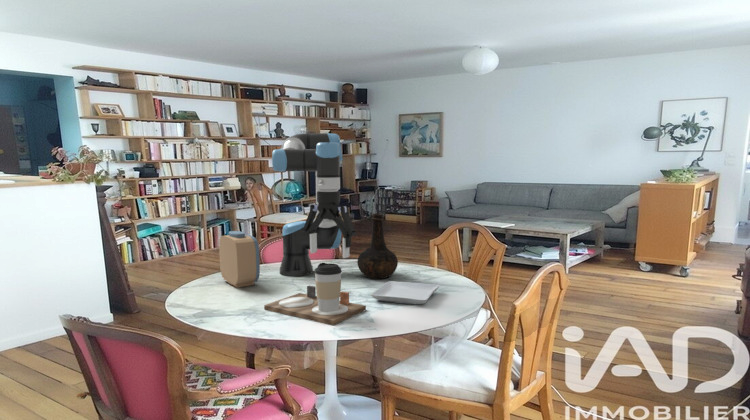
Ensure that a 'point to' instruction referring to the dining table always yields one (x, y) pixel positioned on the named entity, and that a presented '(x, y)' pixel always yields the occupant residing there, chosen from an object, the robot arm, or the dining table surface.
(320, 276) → the coffee cup
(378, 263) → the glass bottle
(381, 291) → the salad plate
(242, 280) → the alarm clock
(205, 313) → the dining table surface
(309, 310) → the tag board
